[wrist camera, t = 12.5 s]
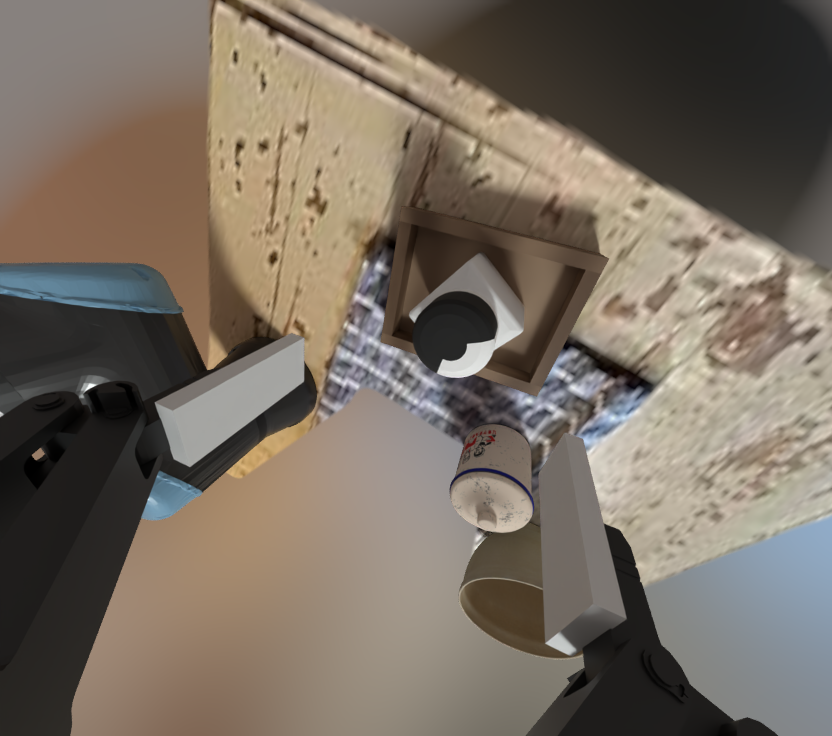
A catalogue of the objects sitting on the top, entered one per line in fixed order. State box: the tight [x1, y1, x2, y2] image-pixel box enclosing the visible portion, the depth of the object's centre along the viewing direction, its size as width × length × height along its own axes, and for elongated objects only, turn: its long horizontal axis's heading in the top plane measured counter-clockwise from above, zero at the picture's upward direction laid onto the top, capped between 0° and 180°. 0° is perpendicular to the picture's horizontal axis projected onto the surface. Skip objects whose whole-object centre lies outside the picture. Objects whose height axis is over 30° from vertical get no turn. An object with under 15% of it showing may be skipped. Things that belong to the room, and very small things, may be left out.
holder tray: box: [381, 206, 609, 396], centre depth 30 cm, size 18×14×4 cm
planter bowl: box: [458, 523, 583, 660], centre depth 41 cm, size 16×16×11 cm
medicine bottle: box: [409, 252, 525, 378], centre depth 26 cm, size 7×7×12 cm
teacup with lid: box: [450, 424, 534, 533], centre depth 36 cm, size 12×9×12 cm
